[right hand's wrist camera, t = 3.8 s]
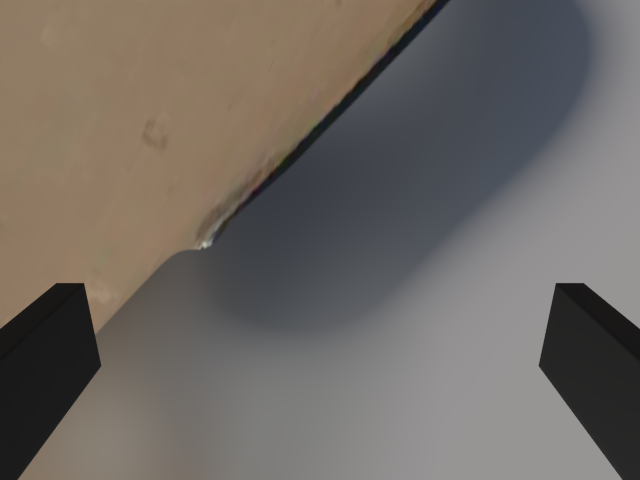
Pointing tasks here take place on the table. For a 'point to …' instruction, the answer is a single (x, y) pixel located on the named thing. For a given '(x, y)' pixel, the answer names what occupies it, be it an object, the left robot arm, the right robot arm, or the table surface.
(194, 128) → the table surface
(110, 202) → the table surface
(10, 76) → the table surface
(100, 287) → the table surface
